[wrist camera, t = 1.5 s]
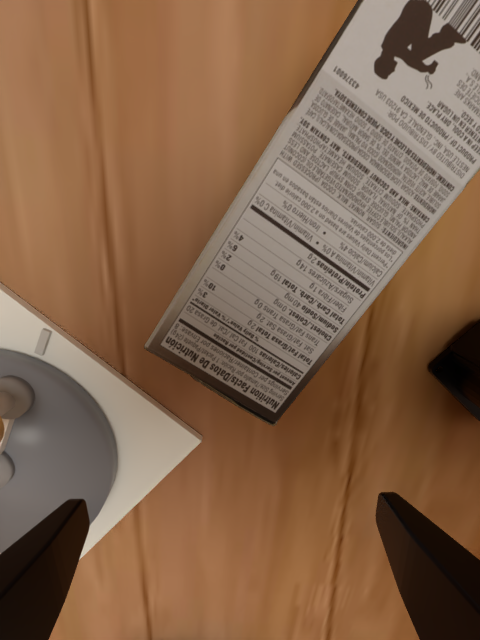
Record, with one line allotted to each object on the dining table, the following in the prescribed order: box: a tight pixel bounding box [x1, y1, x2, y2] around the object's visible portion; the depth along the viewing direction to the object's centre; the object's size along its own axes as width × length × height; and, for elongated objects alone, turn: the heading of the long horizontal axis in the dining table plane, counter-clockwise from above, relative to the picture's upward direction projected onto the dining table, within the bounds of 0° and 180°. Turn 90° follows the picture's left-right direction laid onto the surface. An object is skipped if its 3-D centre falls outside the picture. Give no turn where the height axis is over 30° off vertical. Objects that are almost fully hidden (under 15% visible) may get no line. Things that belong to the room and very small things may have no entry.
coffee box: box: [144, 0, 480, 426], centre depth 14 cm, size 9×6×16 cm
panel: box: [0, 282, 202, 560], centre depth 22 cm, size 20×20×1 cm
